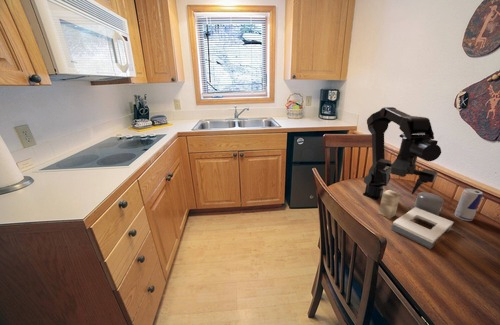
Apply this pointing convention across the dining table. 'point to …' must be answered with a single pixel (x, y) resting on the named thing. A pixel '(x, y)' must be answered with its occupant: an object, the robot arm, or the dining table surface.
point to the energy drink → (468, 204)
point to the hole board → (421, 227)
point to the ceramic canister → (429, 202)
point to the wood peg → (389, 203)
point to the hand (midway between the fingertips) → (398, 189)
